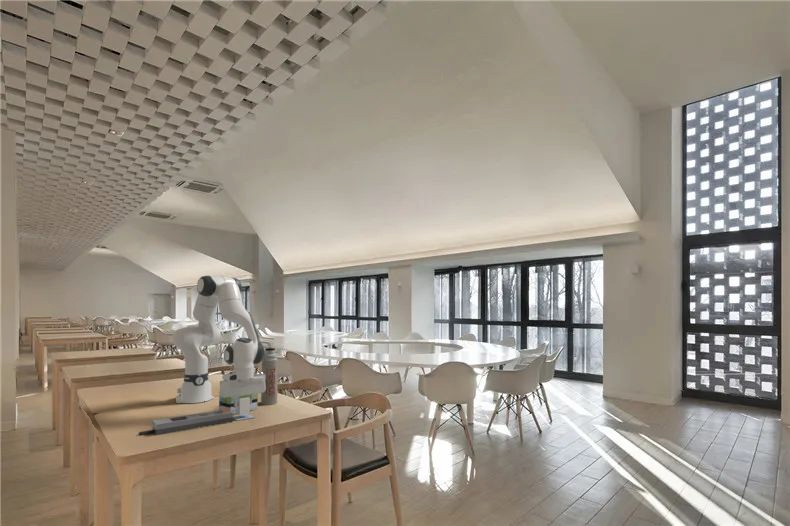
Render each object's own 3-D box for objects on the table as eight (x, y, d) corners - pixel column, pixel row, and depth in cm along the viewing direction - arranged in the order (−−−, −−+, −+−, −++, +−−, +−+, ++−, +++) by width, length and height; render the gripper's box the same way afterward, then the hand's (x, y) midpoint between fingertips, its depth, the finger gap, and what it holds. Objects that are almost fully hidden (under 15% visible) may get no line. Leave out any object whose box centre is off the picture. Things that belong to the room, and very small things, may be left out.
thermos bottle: (277, 404, 230) (278, 348, 233) (260, 405, 228) (262, 349, 230) (277, 400, 238) (277, 347, 240) (261, 401, 236) (262, 347, 238)
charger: (236, 413, 205) (236, 397, 206) (245, 411, 208) (246, 395, 208) (239, 415, 202) (240, 398, 202) (249, 413, 204) (249, 397, 205)
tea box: (230, 415, 208) (231, 383, 209) (218, 412, 214) (219, 380, 216) (258, 409, 220) (258, 378, 221) (245, 406, 226) (246, 376, 227)
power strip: (136, 432, 182) (137, 420, 182) (226, 418, 204) (226, 407, 204) (140, 437, 176) (140, 425, 176) (232, 421, 198) (232, 410, 198)
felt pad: (230, 417, 205) (230, 416, 205) (248, 414, 210) (248, 413, 210) (237, 421, 199) (237, 420, 199) (254, 418, 204) (254, 417, 204)
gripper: (262, 371, 215) (262, 400, 214) (218, 375, 202) (218, 407, 201) (268, 372, 210) (267, 403, 209) (223, 377, 197) (222, 409, 196)
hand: (242, 405), depth 205 cm, fingers closed on charger, 4 cm apart
